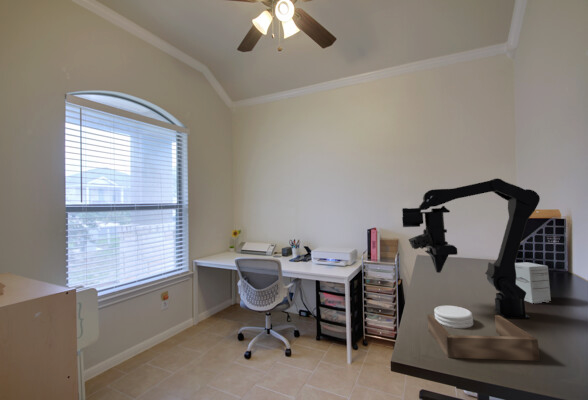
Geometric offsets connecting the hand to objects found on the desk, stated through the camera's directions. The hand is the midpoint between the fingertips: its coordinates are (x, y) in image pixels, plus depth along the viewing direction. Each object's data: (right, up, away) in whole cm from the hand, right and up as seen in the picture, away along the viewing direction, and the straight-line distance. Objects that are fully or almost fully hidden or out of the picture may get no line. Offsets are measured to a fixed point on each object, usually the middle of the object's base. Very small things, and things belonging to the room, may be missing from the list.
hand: (438, 272), depth 92 cm
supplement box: (+36, -11, +5) cm, 38 cm away
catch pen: (-3, -11, -24) cm, 27 cm away
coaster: (-1, -12, -11) cm, 16 cm away
